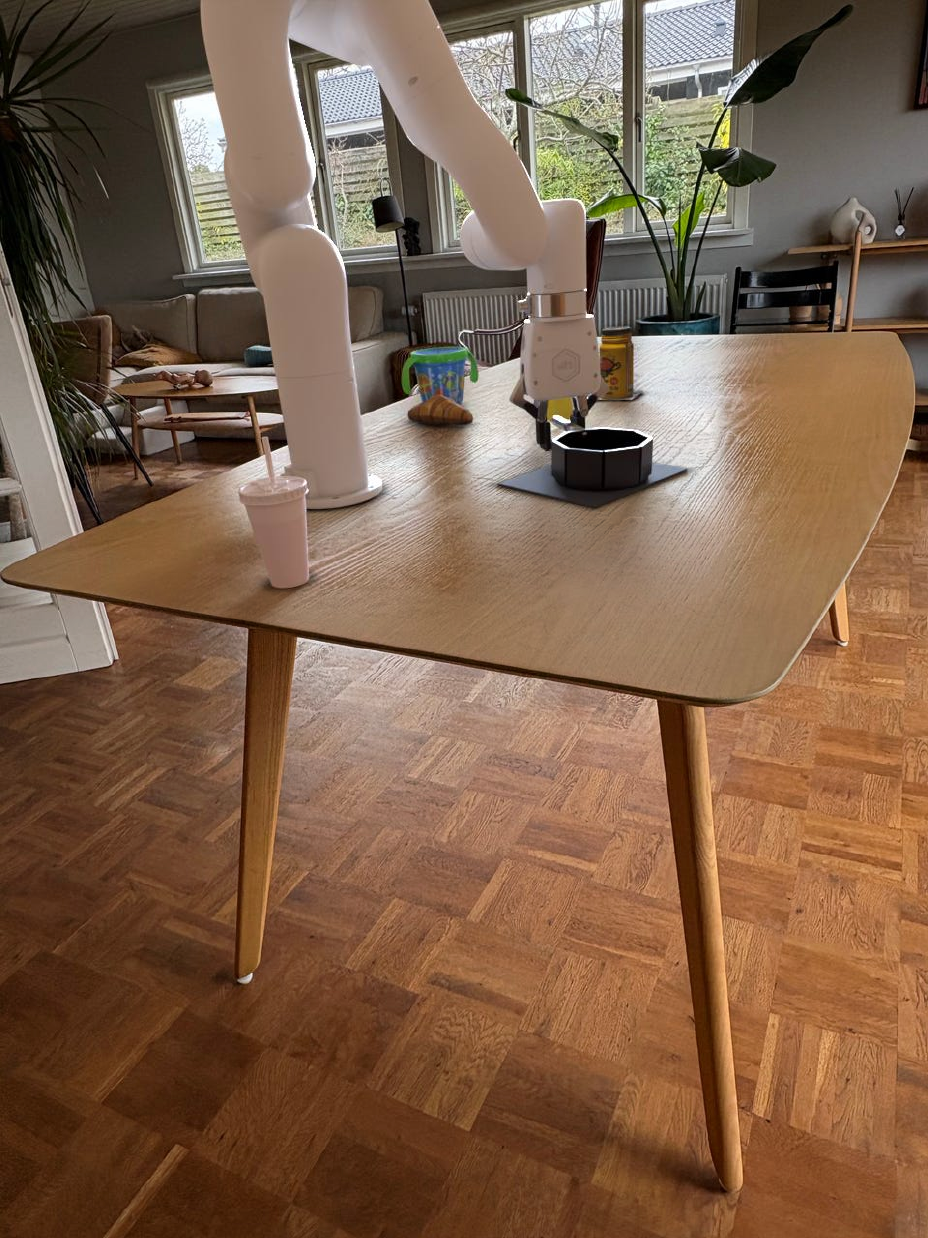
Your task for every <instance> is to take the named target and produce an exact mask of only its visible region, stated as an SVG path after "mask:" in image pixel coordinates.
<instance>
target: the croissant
mask: <svg viewBox="0 0 928 1238" xmlns="http://www.w3.org/2000/svg"><path fill="white" fill-rule="evenodd" d="M407 419H408V420H410V421H411V422H415V423H422V424H428V425H447V426H448V425H449V426H466V425H470V424H472V423H473V421H474V416H473V413H472V412H470V410H469V409H467V408H466V407H465V406H463V405H462V404H461V405H460V404H457V403H456V401H455V400H454V399H451V398H447V397H445V396H442V395H439V394H437V395H435V396H433V397H431V398H429V399H428V400H427V401H426V402H422V401H421V402H420V403H418V404H416V405H414V406H412V407H411V408H410V409H409V410H407Z"/></svg>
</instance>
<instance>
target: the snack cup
mask: <svg viewBox="0 0 928 1238" xmlns="http://www.w3.org/2000/svg"><path fill="white" fill-rule="evenodd" d="M467 359H469V362H470V374H469V380H470V382H471V383H474V384H475V383H477V382H478V381H479V375H480V374H479V367H478V363H477V360H476V358H475V356H474V354H473V353H472V352H471V351H470V350H468V348H466V347H462V346H442V347H440V346H439V347H429V348H422V349H418V350H413V351H411V352H410V354H409V358H407V359H406V361H405V362H404V363H403V364H404V365H403V367H402V372H401V387H402V390H403V392H404V393H405V394H406V395H411V394H412V388H411V380H410V368H411V367H412V366H413V369H414V373H415V377H416V382H417V385H418V391H419V395H420V398H421V403H422V402H426V401H427V400H428V399H429V398H431V397H433V396H435V395H437V394H439V395H442V396H445V397H447V398H451V399H454V400H455V401H456V403H457V404H460V405H461V406H462V404H463V401H464V390H465V380H466V379H465V376H466V370H465V369H466V362H467Z"/></svg>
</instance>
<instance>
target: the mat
mask: <svg viewBox="0 0 928 1238" xmlns="http://www.w3.org/2000/svg"><path fill="white" fill-rule="evenodd" d="M686 472H688V468H685V467H680V466H675V465H674V466H673V465H668V464H664V463H663V464H662V463H657V462H652V473H651V474H650V475H649V476H648V480H647V481H646V482H644V483H642V484H640V485H638V486H635V487H631V488H626V489H620V490H609V491H591V490H580V489H574V488H570V487H566V486H563V485H561V484H559V483H557V482H556V481H555V478H554V477H553V476H552V475H551V464H550V465H547V466H544V467H541V468H539V469H536V470H535V469H534V470H533V471H529V472H527V473H524V474H520V475H518V476H515V477H512V478H509V479H506V480H503V481H500V482H497V486H499V487H503V488H507V489H512V490H515V491H519V492H524V493H528V494H532V495H537V496H540V497H546V498H549V499H554V500H558V501H562V502H567V503H571V504H575V505H578V506H579V505H580V506H584V507H588V508H593V509H597V508H599V507H602V506H605V505H607V504H609V503H611V502H614V501H616V500H619V499H621V498H624V497H626V496H630V495H631V494H634V493H637V492H638V491H641V490H643V489H646V488H648V487H651V486H654V485H656V484H658V483H661V482H663V481H665V480H669V479H670V478H671V479H672V478H673V477H676V476H678V475H681V474H684V473H686Z"/></svg>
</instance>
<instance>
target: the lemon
mask: <svg viewBox="0 0 928 1238" xmlns="http://www.w3.org/2000/svg"><path fill="white" fill-rule="evenodd" d="M571 414H573V405H572V400H571V397H569V398H561V399H553V400H549V403H548V410H547V421H549V422H550V424H552V422H551V419H552V417H553V416H555V415H558V416H560V417H562V418H564V419H566V420H568V421H570V416H571ZM555 427H556V428H558V427H557V426H555Z"/></svg>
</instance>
